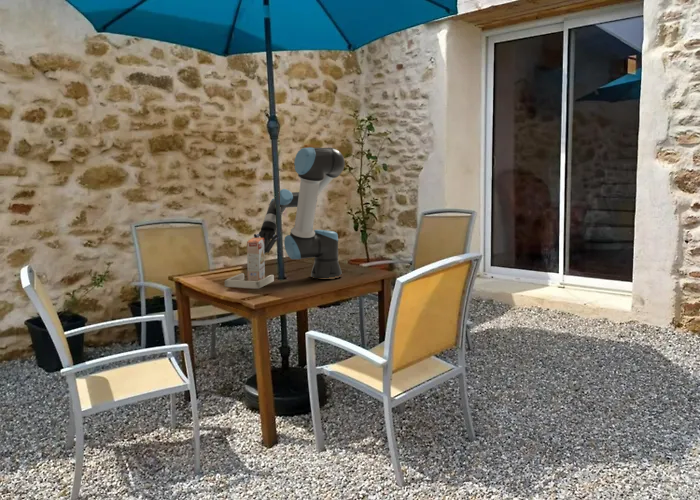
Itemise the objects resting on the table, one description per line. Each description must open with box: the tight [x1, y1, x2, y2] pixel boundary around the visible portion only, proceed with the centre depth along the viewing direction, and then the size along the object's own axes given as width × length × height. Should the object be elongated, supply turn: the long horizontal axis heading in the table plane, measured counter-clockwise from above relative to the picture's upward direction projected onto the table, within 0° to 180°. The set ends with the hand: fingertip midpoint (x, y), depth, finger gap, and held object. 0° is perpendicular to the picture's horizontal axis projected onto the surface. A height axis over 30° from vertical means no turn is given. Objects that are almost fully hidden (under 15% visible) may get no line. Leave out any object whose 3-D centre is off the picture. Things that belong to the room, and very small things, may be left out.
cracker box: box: [246, 237, 266, 281], centre depth 274 cm, size 14×6×21 cm, turn 178°
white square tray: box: [224, 272, 275, 290], centre depth 275 cm, size 17×17×3 cm
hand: (256, 263), depth 283 cm, fingers closed
